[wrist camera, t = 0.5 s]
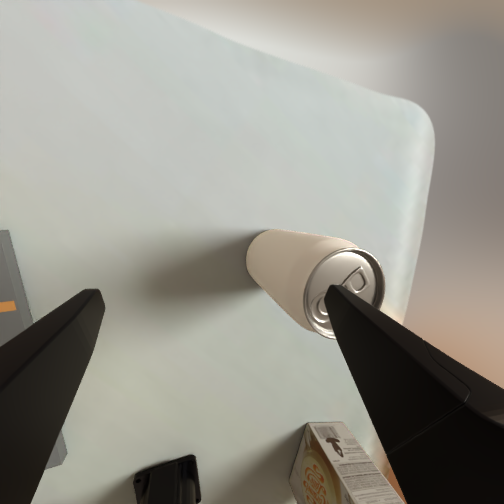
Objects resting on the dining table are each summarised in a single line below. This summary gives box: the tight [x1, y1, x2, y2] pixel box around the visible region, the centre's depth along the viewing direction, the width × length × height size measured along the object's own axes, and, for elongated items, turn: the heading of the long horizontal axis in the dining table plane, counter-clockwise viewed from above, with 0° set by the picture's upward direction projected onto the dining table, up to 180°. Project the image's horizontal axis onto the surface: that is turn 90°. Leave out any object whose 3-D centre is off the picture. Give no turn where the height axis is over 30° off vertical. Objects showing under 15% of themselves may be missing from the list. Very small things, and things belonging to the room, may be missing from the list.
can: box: [246, 229, 385, 339], centre depth 18 cm, size 6×6×12 cm
